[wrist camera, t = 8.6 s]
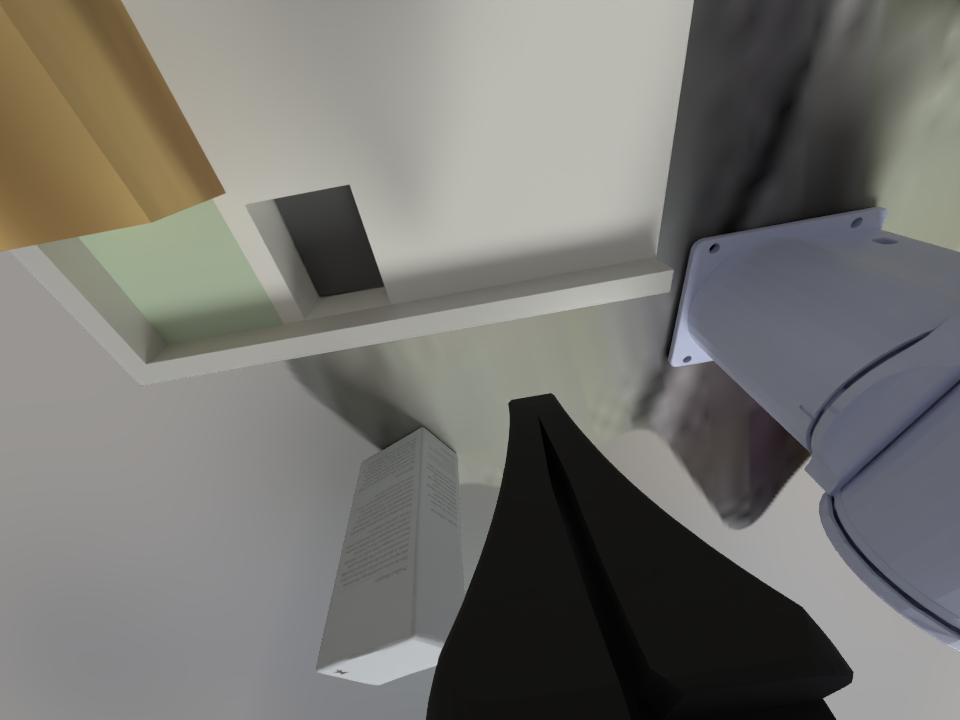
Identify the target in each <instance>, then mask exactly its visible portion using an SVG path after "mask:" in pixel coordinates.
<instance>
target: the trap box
mask: <svg viewBox="0 0 960 720" xmlns="http://www.w3.org/2000/svg"><path fill="white" fill-rule="evenodd" d="M121 1H122V3H123V5H124V6H125V8H126V10H127V12H128V14H129V16H130V17H131V19H132V21H133V23H134V25H135V27H136V28H137V30H138V32H139V34H140V36H141V38H142V39H143V41H144V43H145V45H146V47H147V49H148V51H149V52H150V54H151V56H152V58H153V60H154V62H155V63H156V65H157V67H158V69H159V71H160V73H161V74H162V76H163V78H164V80H165V82H166V84H167V85H168V87H169V89H170V91H171V93H172V95H173V96H174V98H175V100H176V102H177V104H178V106H179V107H180V109H181V111H182V113H183V115H184V117H185V118H186V120H187V122H188V124H189V126H190V128H191V129H192V131H193V133H194V135H195V137H196V139H197V140H198V142H199V144H200V146H201V148H202V150H203V151H204V153H205V155H206V157H207V159H208V161H209V163H210V164H211V166H212V168H213V170H214V172H215V174H216V175H217V177H218V179H219V181H220V183H221V185H222V186H223V188H224V190H225V192H226V193H225V194H223V195H220V196H218V197H215V198H213V199H210V200H208V201H205V202H203V203H200V204H197V205H195V206H192V207H190V208H187V209H185V210H182V211H180V212H177V213H175V214H172V215H170V216H167V217H165V218H162V219H160V220H157V221H155V222H152V223H148V224H143V225H137V226H132V227H127V228H122V229H116V230H111V231H106V232H101V233H95V234H90V235H85V236H80V237H75V238H69V239H64V240H59V241H54V242H48V243H43V244H38V245H33V246H27V247H22V248H17V249H12V250H9V251H10V252H11V253H12V255H13V256H15V258H16V259H17V260H18V261H20V263H21V264H22V265H23V266H24V267H25V268H26V269H27V270H28V271H29V272H30V273H31V274H32V275H33V276H34V277H35V278H36V279H37V280H38V281H39V282H40V283H41V284H42V285H43V286H44V287H45V288H46V289H47V290H48V291H49V292H50V293H51V294H52V295H53V297H54V298H55V299H57V301H58V302H59V303H60V304H61V305H62V306H63V307H64V308H65V309H66V310H67V311H68V312H69V313H70V314H71V315H72V316H73V317H74V318H75V319H76V320H77V321H78V322H79V323H80V324H81V325H82V326H83V327H84V328H85V329H86V330H87V331H88V332H89V333H90V334H91V335H92V336H93V338H94V339H95V340H96V341H97V342H98V343H99V344H100V345H101V346H102V347H103V348H104V349H105V350H106V351H107V352H108V353H109V354H110V355H111V356H112V357H113V358H114V359H115V360H116V361H117V362H118V363H119V364H120V365H121V366H122V367H123V368H124V369H125V370H126V371H127V372H128V373H129V374H130V375H131V376H132V377H133V378H134V380H135V381H136V382H137V383H138V384H140V386H142V385H147V384H153V383H159V382H165V381H170V380H176V379H182V378H187V377H193V376H199V375H204V374H210V373H215V372H221V371H226V370H232V369H238V368H243V367H249V366H255V365H260V364H266V363H272V362H278V361H283V360H289V359H295V358H300V357H306V356H311V355H317V354H323V353H328V352H334V351H340V350H345V349H351V348H357V347H362V346H368V345H374V344H379V343H385V342H390V341H396V340H402V339H407V338H413V337H419V336H424V335H430V334H436V333H441V332H447V331H452V330H458V329H464V328H469V327H475V326H481V325H486V324H492V323H498V322H503V321H509V320H515V319H520V318H526V317H531V316H537V315H543V314H548V313H554V312H560V311H565V310H571V309H577V308H582V307H588V306H594V305H599V304H605V303H610V302H616V301H622V300H627V299H633V298H639V297H644V296H650V295H656V294H661V293H667V292H670V288H671V282H672V277H673V272H674V270H673V269H672V268H671V267H669V266H668V265H667V264H665V263H664V262H662V261H661V260H660V259H658V258H657V257H656V254H657V247H658V240H659V233H660V226H661V220H662V213H663V206H664V199H665V193H666V186H667V179H668V172H669V166H670V159H671V152H672V145H673V139H674V132H675V125H676V118H677V111H678V105H679V98H680V91H681V84H682V78H683V71H684V64H685V57H686V51H687V44H688V37H689V30H690V24H691V17H692V10H693V3H694V0H121Z"/></svg>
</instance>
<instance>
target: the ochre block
mask: <svg viewBox="0 0 960 720" xmlns="http://www.w3.org/2000/svg"><path fill="white" fill-rule="evenodd" d="M225 193H226V192H225V190H224V188H223V186H222V185H221V183H220V181H219V179H218V177H217V175H216V174H215V172H214V170H213V168H212V166H211V164H210V163H209V161H208V159H207V157H206V155H205V153H204V151H203V150H202V148H201V146H200V144H199V142H198V140H197V139H196V137H195V135H194V133H193V131H192V129H191V128H190V126H189V124H188V122H187V120H186V118H185V117H184V115H183V113H182V111H181V109H180V107H179V106H178V104H177V102H176V100H175V98H174V96H173V95H172V93H171V91H170V89H169V87H168V85H167V84H166V82H165V80H164V78H163V76H162V74H161V73H160V71H159V69H158V67H157V65H156V63H155V62H154V60H153V58H152V56H151V54H150V52H149V51H148V49H147V47H146V45H145V43H144V41H143V39H142V38H141V36H140V34H139V32H138V30H137V28H136V27H135V25H134V23H133V21H132V19H131V17H130V16H129V14H128V12H127V10H126V8H125V6H124V5H123V3H122V1H121V0H0V252H1V251H6V250H12V249H17V248H22V247H27V246H33V245H38V244H43V243H48V242H54V241H59V240H64V239H69V238H75V237H80V236H85V235H90V234H95V233H101V232H106V231H111V230H116V229H122V228H127V227H132V226H137V225H143V224H148V223H152V222H155V221H157V220H160V219H162V218H165V217H167V216H170V215H172V214H175V213H177V212H180V211H182V210H185V209H187V208H190V207H192V206H195V205H197V204H200V203H203V202H205V201H208V200H210V199H213V198H215V197H218V196H220V195H223V194H225Z"/></svg>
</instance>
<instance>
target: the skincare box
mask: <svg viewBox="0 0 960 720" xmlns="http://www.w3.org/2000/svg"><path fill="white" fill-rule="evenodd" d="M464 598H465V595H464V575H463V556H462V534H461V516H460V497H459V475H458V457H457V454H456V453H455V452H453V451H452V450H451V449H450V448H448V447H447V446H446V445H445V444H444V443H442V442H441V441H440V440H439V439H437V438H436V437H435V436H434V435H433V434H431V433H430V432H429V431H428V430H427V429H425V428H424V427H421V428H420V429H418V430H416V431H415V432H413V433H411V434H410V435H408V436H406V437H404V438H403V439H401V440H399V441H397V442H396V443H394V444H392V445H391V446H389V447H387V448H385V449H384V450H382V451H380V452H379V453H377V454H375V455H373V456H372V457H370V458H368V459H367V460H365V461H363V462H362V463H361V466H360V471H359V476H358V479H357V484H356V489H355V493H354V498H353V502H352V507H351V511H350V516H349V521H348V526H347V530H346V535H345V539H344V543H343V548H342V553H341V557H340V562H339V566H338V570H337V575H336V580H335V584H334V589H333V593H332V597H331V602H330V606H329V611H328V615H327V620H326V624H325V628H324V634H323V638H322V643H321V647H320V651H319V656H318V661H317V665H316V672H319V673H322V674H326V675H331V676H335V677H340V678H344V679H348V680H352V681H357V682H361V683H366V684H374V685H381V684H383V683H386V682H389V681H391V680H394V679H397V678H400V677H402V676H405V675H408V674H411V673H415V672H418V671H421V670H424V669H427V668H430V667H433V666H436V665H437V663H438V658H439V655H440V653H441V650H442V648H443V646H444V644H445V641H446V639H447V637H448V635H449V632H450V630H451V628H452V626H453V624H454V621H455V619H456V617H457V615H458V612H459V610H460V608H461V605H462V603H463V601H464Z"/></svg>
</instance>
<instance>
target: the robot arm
mask: <svg viewBox="0 0 960 720" xmlns="http://www.w3.org/2000/svg"><path fill="white" fill-rule="evenodd" d="M887 215H888V210H887V209H885V208H881V207H873V208H867V209H862V210H856V211H851V212H845V213H840V214H834V215H829V216H823V217H817V218H812V219H806V220H801V221H795V222H790V223H784V224H779V225H773V226H768V227H762V228H757V229H751V230H746V231H740V232H735V233H729V234H724V235H718V236H713V237H707V238H702V239H699V240H698V241H696V242H695V243H694V244H693V246H692V248H691V251H690V255H689V260H688V265H687V270H686V275H685V280H684V285H683V289H682V294H681V299H680V304H679V309H678V314H677V319H676V323H675V328H674V333H673V338H672V343H671V348H670V353H669V357H668V362H669V363H670V364H671V365H672V366H674V367H678V366H684V365H690V364H696V363H702V362H708V361H715V362H716V363H717V364H718V365H719V366H720V367H721V368H722V369H723V370H724V371H725V372H726V373H727V374H728V375H729V376H730V377H731V378H732V379H733V380H734V381H736V382H737V383H738V384H739V385H740V386H741V387H742V388H743V389H744V390H745V391H746V392H747V393H748V394H749V395H750V396H751V397H752V398H753V399H754V400H756V401H757V402H758V403H759V404H760V405H761V406H762V407H763V408H764V409H765V410H766V411H767V412H768V413H769V414H770V415H771V416H772V417H773V418H774V419H775V420H777V421H778V422H779V423H780V424H781V425H782V426H783V427H784V428H785V429H786V430H787V431H788V432H789V433H790V434H791V435H792V436H793V437H794V438H795V439H796V440H798V441H799V442H800V443H801V444H802V445H803V446H804V447H805V448H806V449H807V450H808V451H809V452H810V453H811V454H812V459H811V460H810V462H809V464H808V465H807V466H806V467H805V471H806V472H807V473H808V474H809V475H810V476H811V477H812V478H813V479H814V480H815V481H816V482H817V483H818V484H819V485H820V486H821V487H822V488H823V489H824V490H825V491H826V492H825V493H824V494H823V496H822V498H821V501H820V503H819V514H820V518H821V523H822V525H823V528H824V530H825V532H826V535H827V536H828V538H829V540H830V541H831V543H832V545H833V546H834V548H835V550H836V551H837V552H838V553H839V555H840V556H841V557H842V559H843V560H844V561H845V563H846V564H847V565H848V566H849V567H850V569H851V570H852V571H853V572H854V573H855V574H856V575H857V576H858V577H859V578H860V580H861V581H862V582H864V583H865V584H866V585H867V586H868V587H869V588H870V589H871V590H872V591H873V592H874V593H875V594H876V595H877V596H878V597H880V598H881V599H882V600H883V601H884V602H885V603H887V604H888V605H889V606H890V607H892V608H893V609H894V610H895V611H896V612H898V613H899V614H900V615H902V616H903V617H905V618H906V619H907V620H909V621H910V622H912V623H913V624H914V625H916V626H917V627H918V628H920V629H922V630H923V631H925V632H926V633H928V634H929V635H931V636H933V637H934V638H936V639H937V640H939V641H940V642H942V643H944V644H945V645H947V646H949V647H951V648H953V649H955V650H957V651H959V652H960V252H958V251H954V250H951V249H947V248H944V247H940V246H936V245H933V244H929V243H926V242H922V241H919V240H915V239H912V238H908V237H905V236H901V235H898V234H894V233H891V232H887V231H884V230H881V228H882V226H883V224H884V222H885V220H886V218H887ZM853 221H854V222H853ZM852 222H853V223H852ZM713 244H715V246H714V248H713V249H712V250H710V251H709V249H710V247H711V246H712V245H713ZM685 357H686V358H685ZM684 358H685V359H684ZM508 405H509V412H510V429H509V441H508V449H507V457H506V463H505V468H504V473H503V478H502V483H501V488H500V492H499V496H498V500H497V504H496V508H495V512H494V515H493V519H492V522H491V526H490V529H489V532H488V535H487V538H486V541H485V545H484V547H483V551H482V553H481V556H480V559H479V562H478V564H477V567H476V570H475V572H474V575H473V577H472V580H471V583H470V585H469V588H468V590H467V593H466V596H465V598H464V601H463V603H462V605H461V608H460V610H459V612H458V615H457V617H456V619H455V621H454V624H453V626H452V628H451V630H450V632H449V635H448V637H447V639H446V641H445V644H444V646H443V648H442V650H441V653H440V655H439V658H438V663H437V667H436V671H435V675H434V679H433V683H432V687H431V692H430V696H429V701H428V708H427V716H426V720H836V718H835V717H834V715H833V714H832V712H831V710H830V709H829V707H828V706H827V704H826V703H825V701H824V700H823V698H824V697H826V696H828V695H830V694H832V693H834V692H836V691H838V690H840V689H841V688H844V687H845V686H847V685H849V684H850V683H852V679H853V671H852V670H851V668H850V667H849V665H848V664H847V662H846V661H845V660H844V658H843V657H842V656H841V654H840V653H839V651H838V650H837V649H836V647H835V646H834V645H833V643H832V642H831V641H830V639H829V638H828V637H827V636H826V634H825V633H824V632H823V631H822V630H821V628H820V627H819V626H818V625H817V624H816V623H815V621H814V620H813V619H812V618H811V617H810V616H809V614H808V613H807V612H806V611H805V610H804V609H803V607H801V606H800V605H798V604H796V603H795V602H794V601H792V600H790V599H789V598H787V597H785V596H784V595H783V594H781V593H779V592H778V591H776V590H775V589H773V588H771V587H770V586H768V585H767V584H765V583H764V582H762V581H760V580H759V579H758V578H756V577H755V576H753V575H752V574H750V573H749V572H747V571H746V570H744V569H743V568H741V567H740V566H738V565H736V564H735V563H734V562H732V561H731V560H730V559H728V558H727V557H725V556H724V555H722V554H721V553H719V552H718V551H716V550H715V549H714V548H712V547H711V546H709V545H708V544H707V543H706V542H704V541H703V540H701V539H700V538H699V537H698V536H696V535H695V534H694V533H692V532H691V531H690V530H688V529H687V528H686V527H684V526H683V525H682V524H680V523H679V522H678V521H676V520H675V519H674V518H672V517H671V516H670V515H669V514H667V513H666V512H665V511H664V510H662V509H661V508H660V507H659V506H658V505H656V504H655V503H654V502H653V501H651V500H650V499H649V498H648V497H647V496H646V495H645V494H644V493H642V492H641V491H640V490H639V489H638V488H637V487H636V486H634V485H633V484H632V483H631V482H630V481H629V480H628V479H627V478H626V477H625V476H624V475H622V473H620V472H619V471H618V470H617V469H616V468H615V467H614V466H613V465H612V464H611V463H610V462H609V461H608V460H607V459H606V458H605V457H604V455H603V454H602V453H601V452H600V451H599V450H598V449H597V448H596V447H595V446H594V445H593V444H592V442H591V441H590V440H589V439H588V438H587V437H586V436H585V435H584V434H583V432H582V431H581V430H580V429H579V428H578V426H577V425H576V424H575V423H574V422H573V420H572V419H571V418H570V417H569V415H568V414H567V413H566V411H565V410H564V409H563V407H562V406H561V404H560V403H559V402H558V400H557V399H556V397H555V396H554V395H553V394H551V393H550V394H544V395H538V396H532V397H526V398H521V399H515V400H511V401H510V402H509V403H508Z"/></svg>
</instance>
